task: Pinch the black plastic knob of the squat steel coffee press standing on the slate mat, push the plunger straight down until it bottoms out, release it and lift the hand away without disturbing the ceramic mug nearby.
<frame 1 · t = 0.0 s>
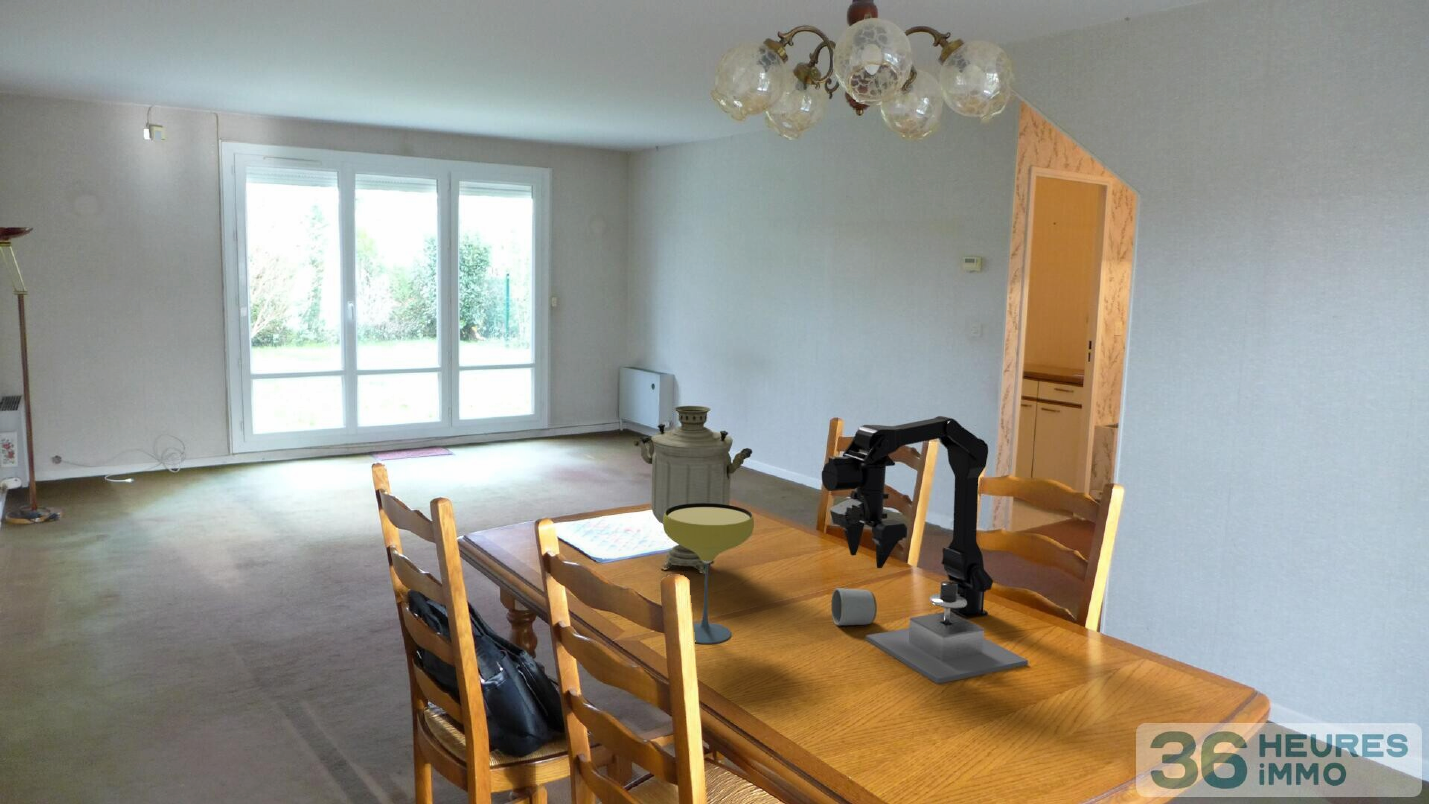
hand: (866, 561, 190), 15 cm above the table, tool pointing down, fingers open, 9 cm apart
samovar: (695, 564, 233), on the table
cocktail glass: (704, 634, 187), on the table
ceramic mug: (849, 622, 196), on the table
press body: (945, 635, 181), on the slate mat, point 4 cm above the table
plunger: (947, 604, 180), point 10 cm above the table, slide at 0.0 cm
slate mat: (944, 652, 181), on the table
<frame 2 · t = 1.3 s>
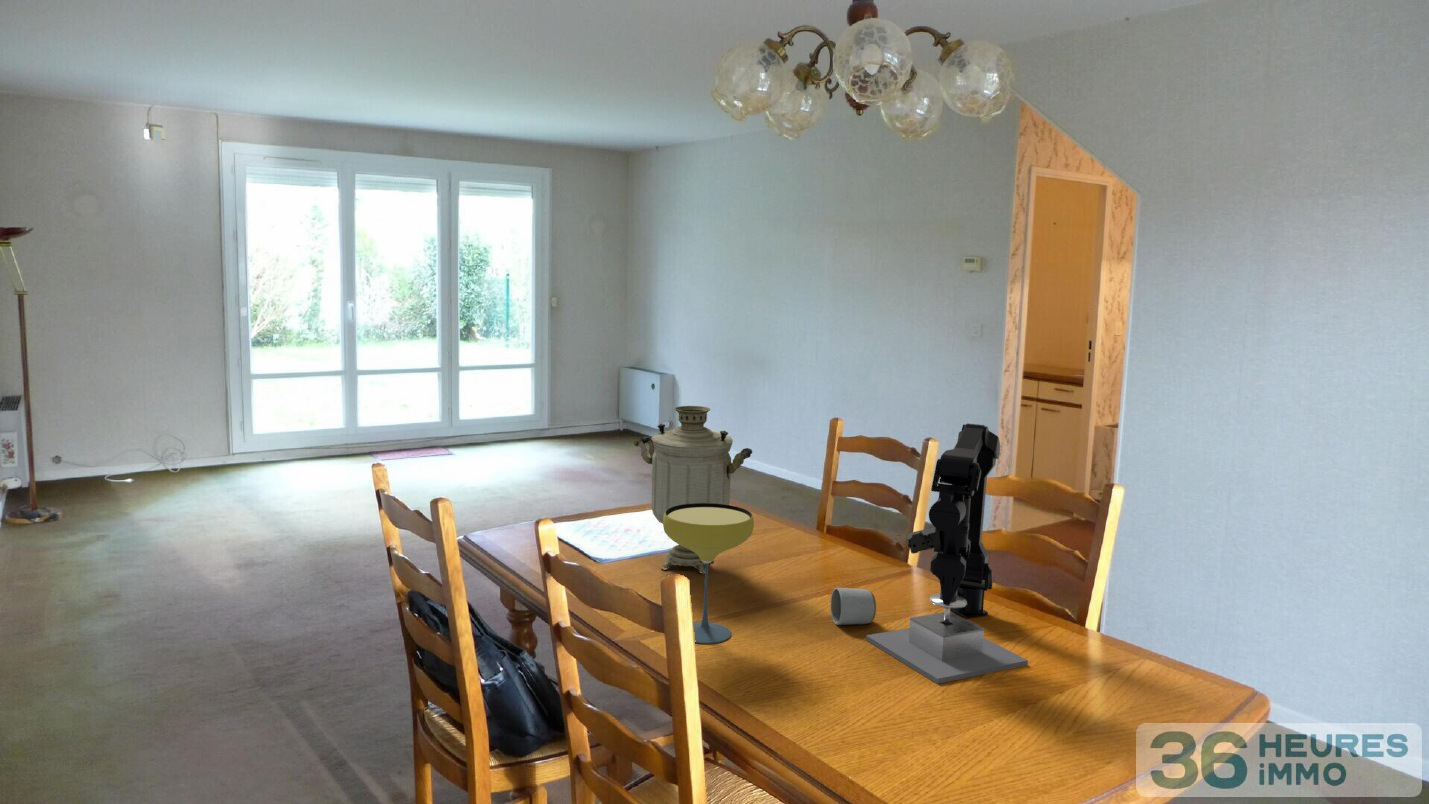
hand: (948, 596, 180), 11 cm above the table, tool pointing down, fingers open, 9 cm apart
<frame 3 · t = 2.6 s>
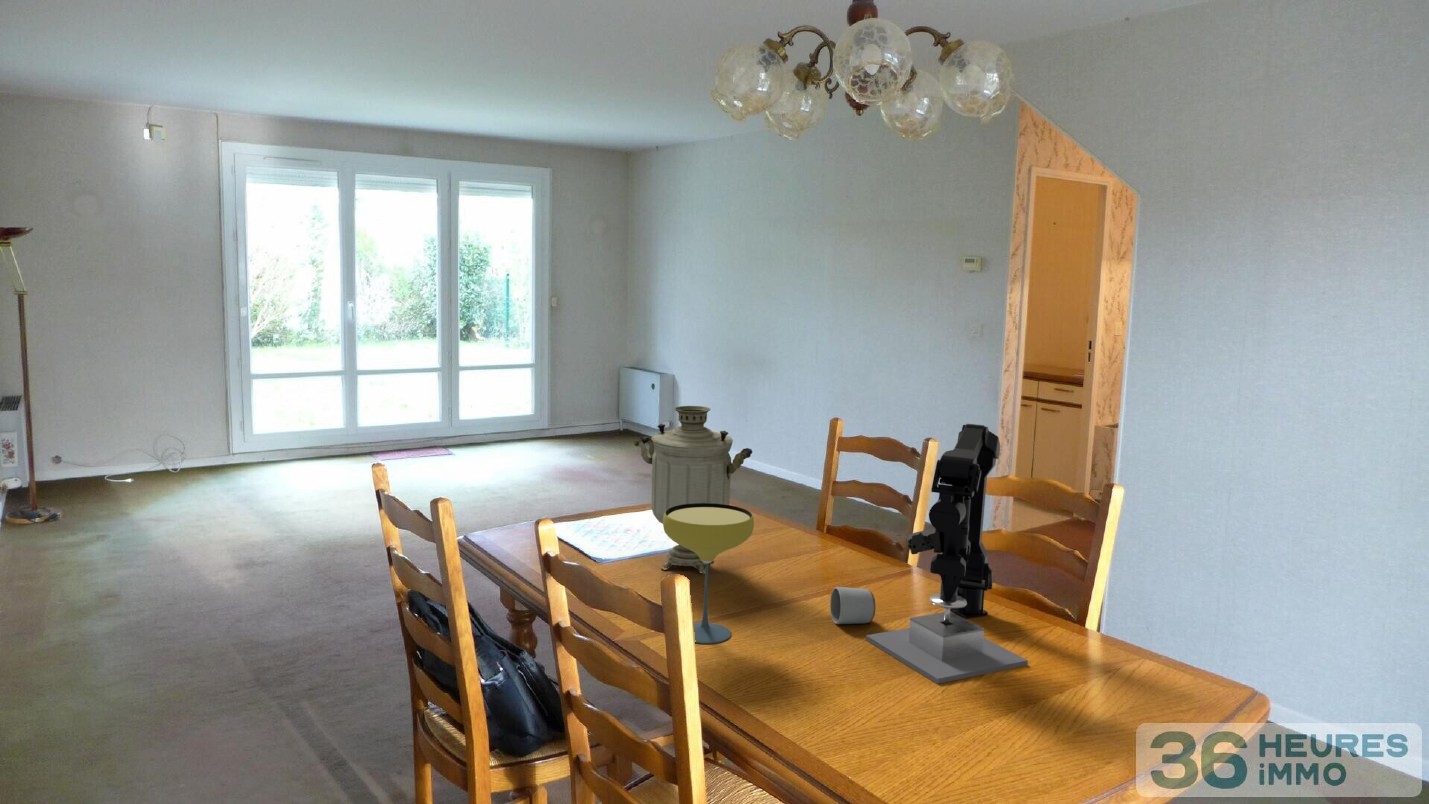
hand: (948, 597, 180), 11 cm above the table, tool pointing down, fingers closed on plunger, 3 cm apart
plunger: (947, 604, 180), point 10 cm above the table, slide at 0.0 cm, touching gripper
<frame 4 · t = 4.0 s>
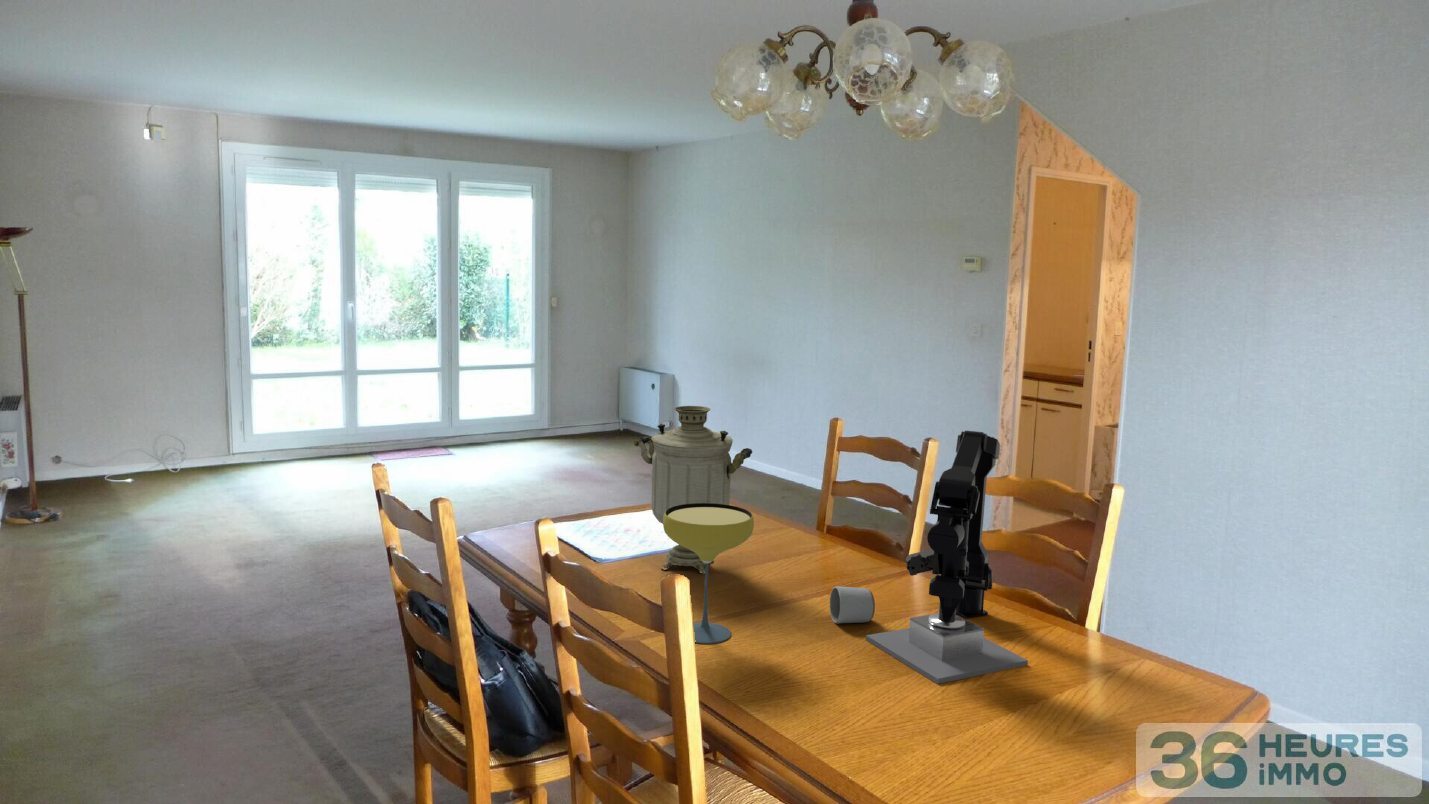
hand: (946, 618, 180), 7 cm above the table, tool pointing down, fingers closed on plunger, 3 cm apart
plunger: (946, 624, 180), point 6 cm above the table, slide at 4.1 cm, touching gripper
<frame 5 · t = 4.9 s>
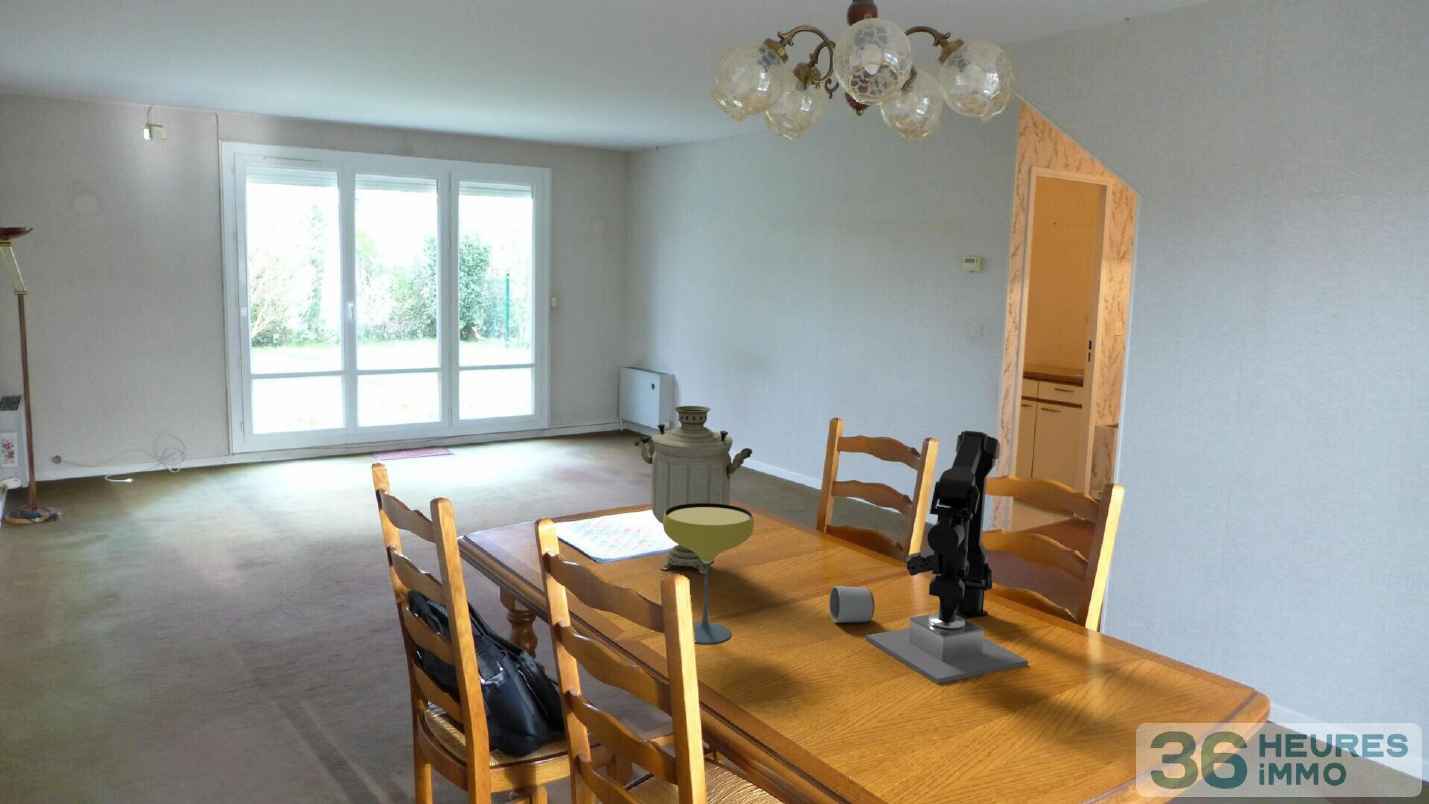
hand: (946, 618, 180), 7 cm above the table, tool pointing down, fingers closed on plunger, 3 cm apart
plunger: (946, 624, 180), point 6 cm above the table, slide at 4.1 cm, touching gripper
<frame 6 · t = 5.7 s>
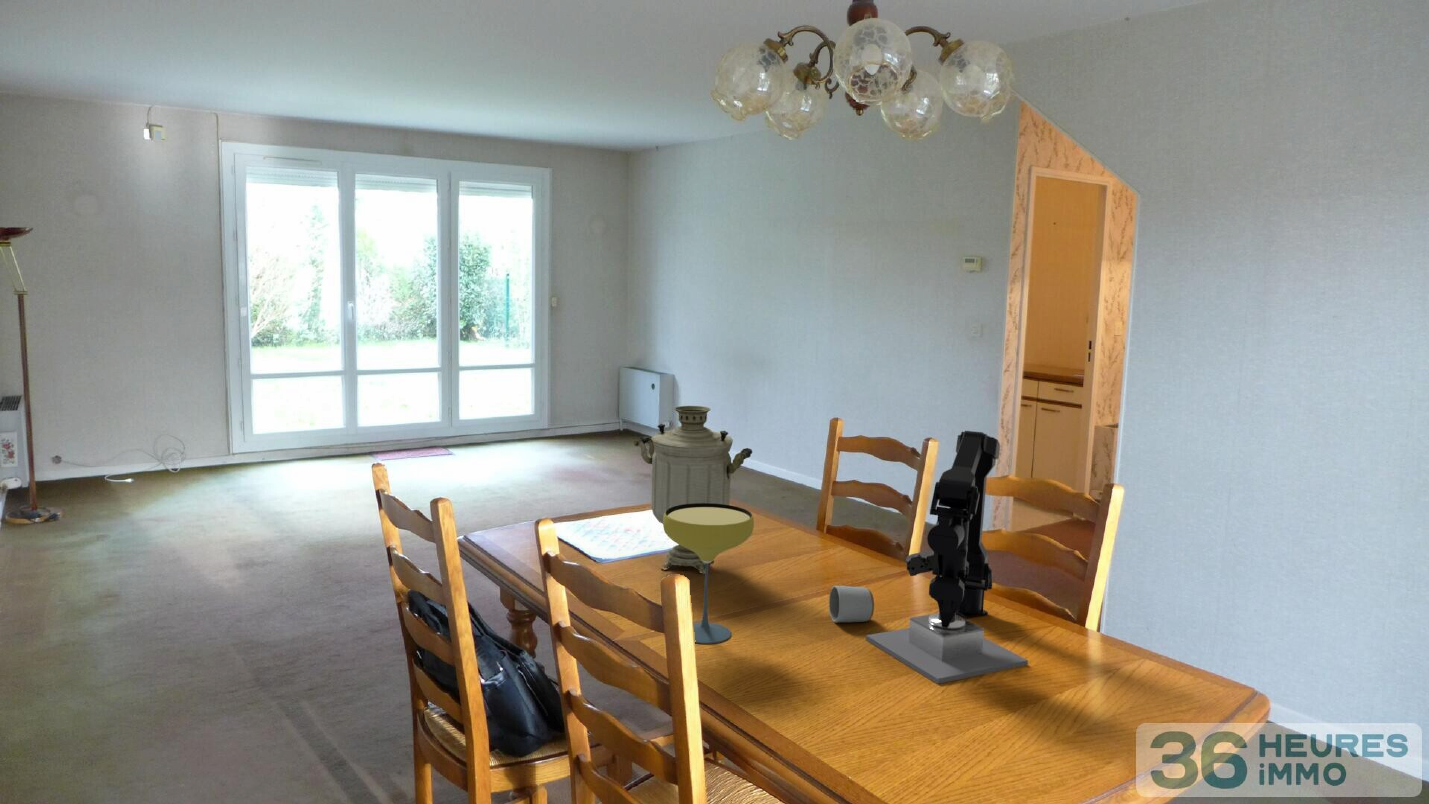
hand: (946, 619, 180), 7 cm above the table, tool pointing down, fingers open, 9 cm apart
plunger: (946, 624, 180), point 6 cm above the table, slide at 4.1 cm
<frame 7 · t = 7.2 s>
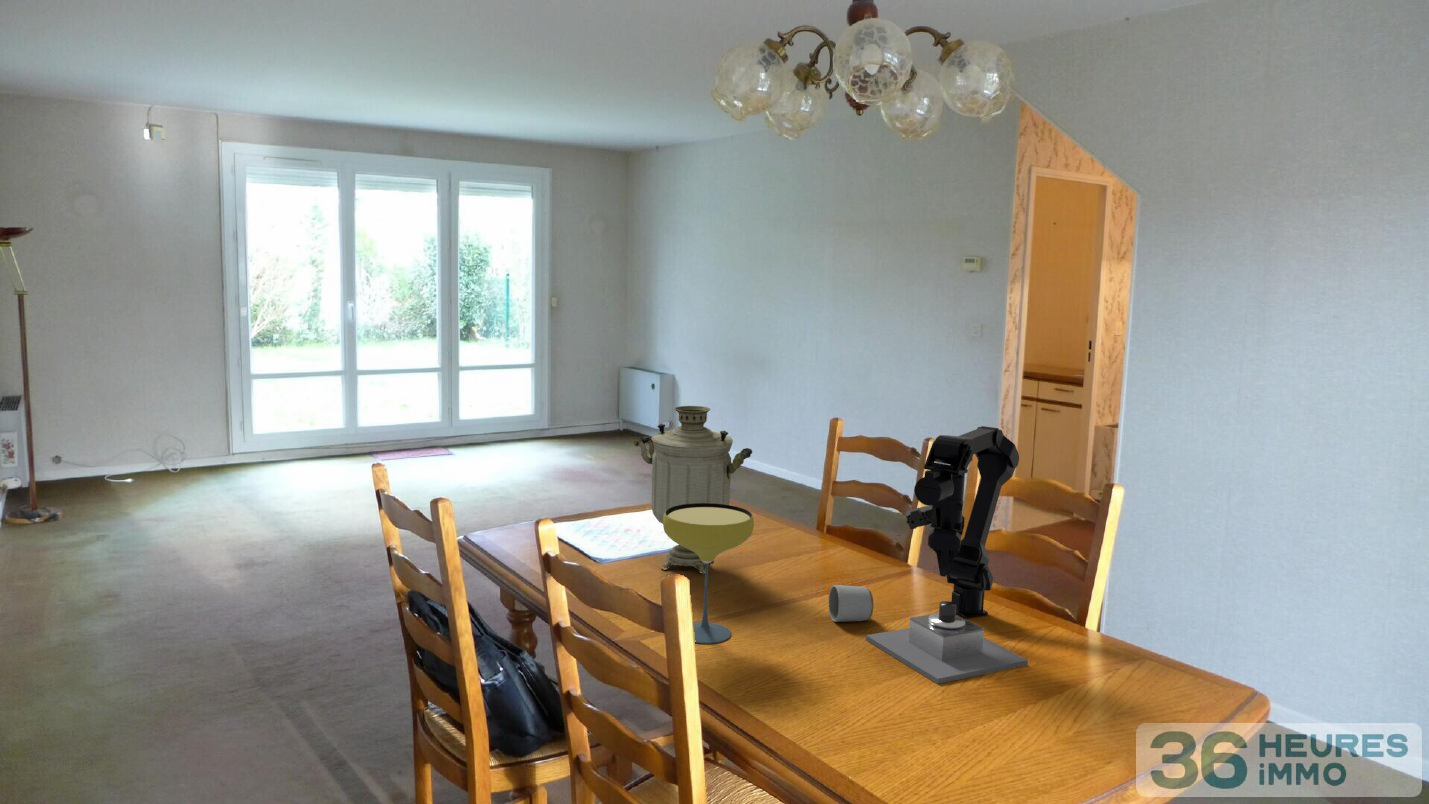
hand: (944, 569, 192), 13 cm above the table, tool pointing down, fingers open, 9 cm apart
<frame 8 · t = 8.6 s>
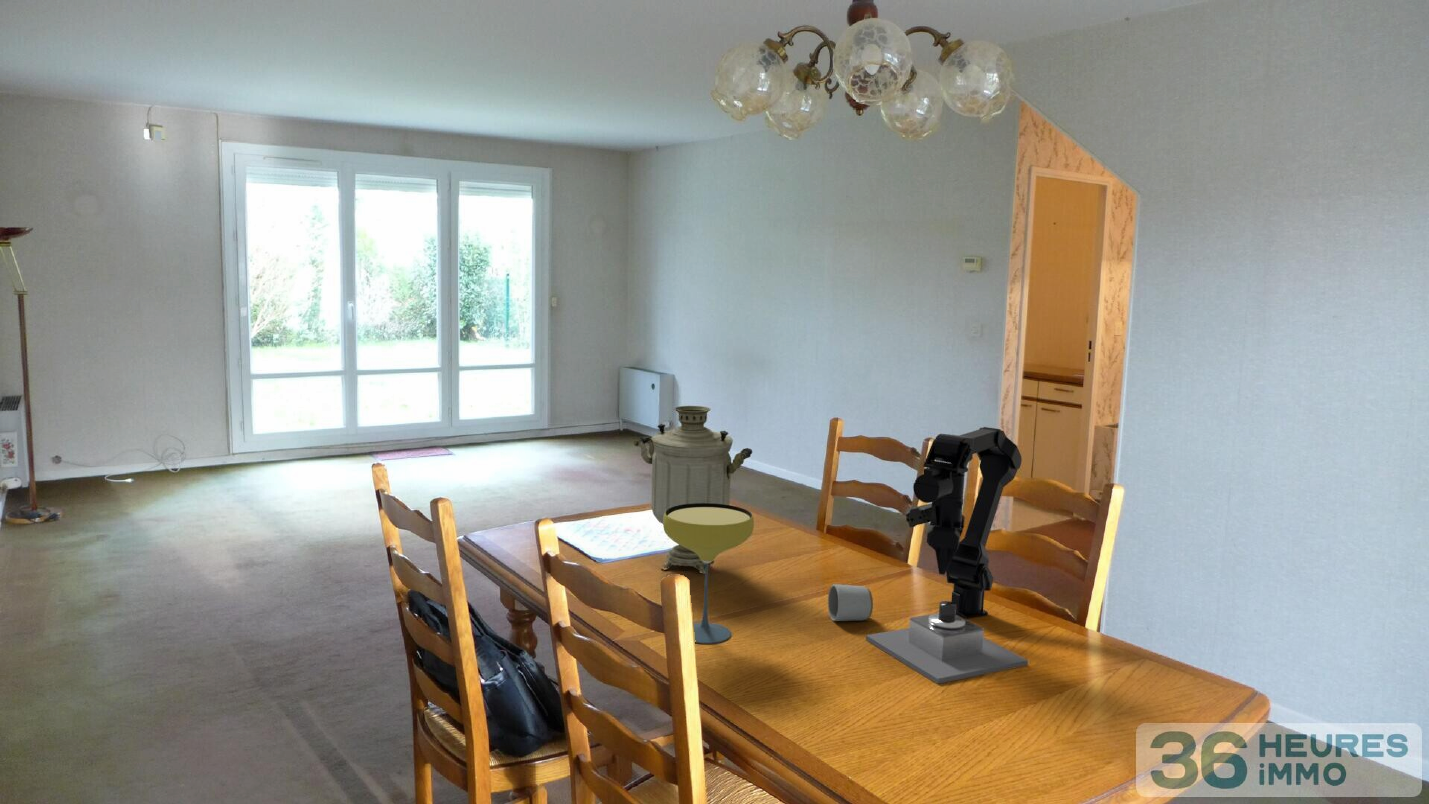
hand: (943, 567, 193), 13 cm above the table, tool pointing down, fingers open, 9 cm apart
at the end: plunger slide at 4.1 cm; the gripper is holding nothing; ceramic mug moved 2.5 cm from its start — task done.
